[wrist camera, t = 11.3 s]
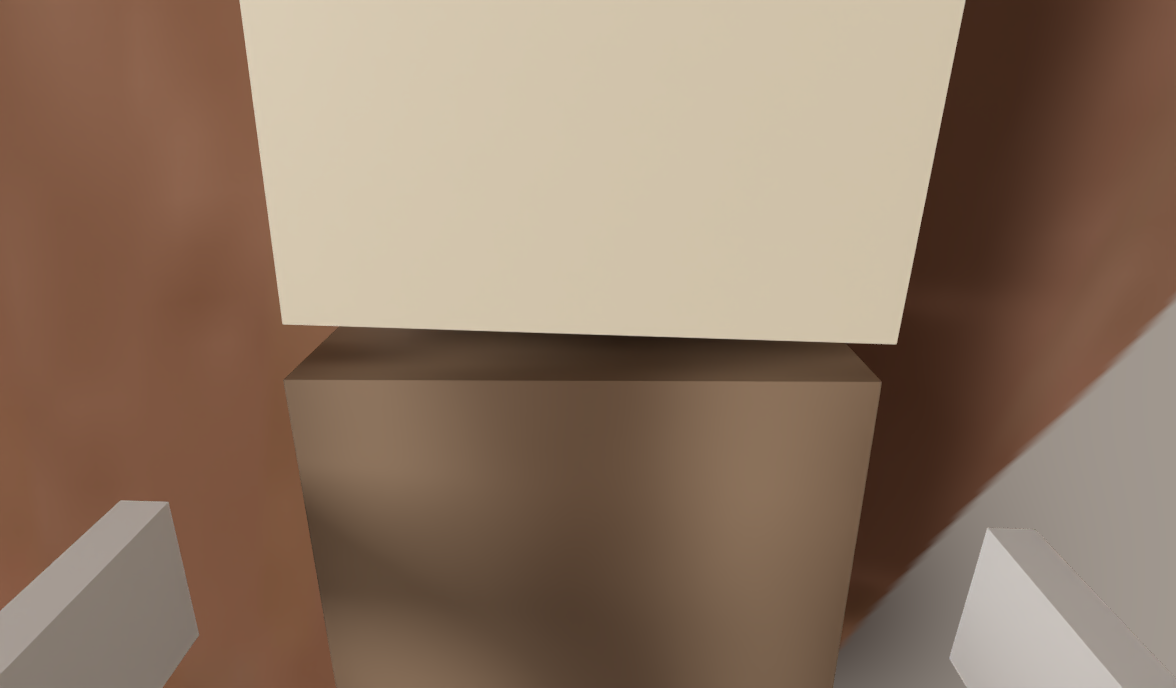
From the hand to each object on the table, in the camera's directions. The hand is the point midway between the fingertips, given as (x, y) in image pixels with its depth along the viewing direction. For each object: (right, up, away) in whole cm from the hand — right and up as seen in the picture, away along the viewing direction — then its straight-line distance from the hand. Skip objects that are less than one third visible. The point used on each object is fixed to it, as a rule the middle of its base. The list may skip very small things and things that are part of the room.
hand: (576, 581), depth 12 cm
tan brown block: (0, +1, +5) cm, 5 cm away
